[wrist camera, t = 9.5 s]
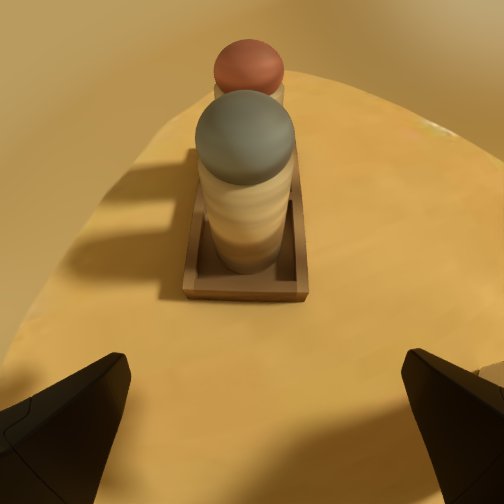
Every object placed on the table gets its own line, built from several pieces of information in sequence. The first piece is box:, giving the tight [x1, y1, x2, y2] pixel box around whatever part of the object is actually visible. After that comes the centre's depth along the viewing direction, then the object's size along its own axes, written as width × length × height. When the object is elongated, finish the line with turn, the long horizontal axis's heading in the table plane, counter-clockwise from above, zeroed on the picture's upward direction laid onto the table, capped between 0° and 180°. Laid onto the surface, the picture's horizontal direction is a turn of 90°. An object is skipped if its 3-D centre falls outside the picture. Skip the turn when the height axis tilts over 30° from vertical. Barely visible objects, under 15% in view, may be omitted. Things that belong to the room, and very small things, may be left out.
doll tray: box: [182, 141, 309, 302], centre depth 24 cm, size 16×9×2 cm, turn 179°
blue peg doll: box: [195, 90, 295, 274], centre depth 17 cm, size 5×5×13 cm
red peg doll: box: [214, 39, 284, 106], centre depth 20 cm, size 5×5×13 cm
